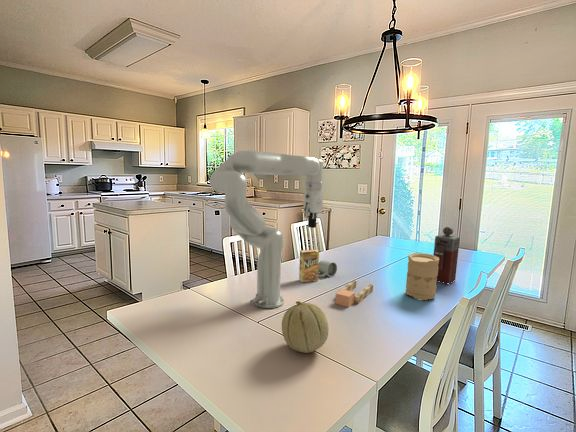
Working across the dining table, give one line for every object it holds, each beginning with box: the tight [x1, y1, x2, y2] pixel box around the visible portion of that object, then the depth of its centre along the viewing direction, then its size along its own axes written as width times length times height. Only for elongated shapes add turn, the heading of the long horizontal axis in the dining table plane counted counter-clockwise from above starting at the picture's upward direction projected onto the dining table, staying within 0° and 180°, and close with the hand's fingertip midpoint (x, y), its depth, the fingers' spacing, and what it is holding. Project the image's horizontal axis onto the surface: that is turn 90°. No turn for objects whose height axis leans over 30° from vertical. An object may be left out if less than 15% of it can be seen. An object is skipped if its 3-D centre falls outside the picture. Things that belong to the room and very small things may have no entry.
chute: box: [336, 280, 374, 305], centre depth 146 cm, size 18×10×3 cm, turn 146°
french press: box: [433, 226, 461, 285], centre depth 165 cm, size 9×11×28 cm
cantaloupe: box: [281, 300, 330, 354], centre depth 101 cm, size 15×15×15 cm
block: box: [335, 288, 356, 308], centre depth 137 cm, size 6×6×4 cm
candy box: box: [298, 249, 320, 283], centre depth 162 cm, size 9×4×15 cm, turn 107°
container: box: [405, 252, 439, 301], centre depth 146 cm, size 13×13×18 cm
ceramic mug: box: [318, 260, 338, 278], centre depth 171 cm, size 11×8×8 cm
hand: (312, 227), depth 148 cm, fingers closed
